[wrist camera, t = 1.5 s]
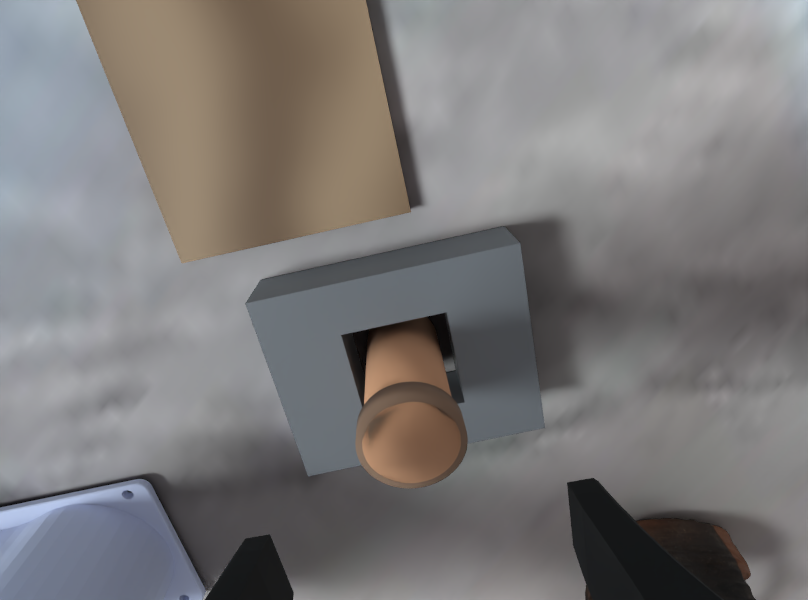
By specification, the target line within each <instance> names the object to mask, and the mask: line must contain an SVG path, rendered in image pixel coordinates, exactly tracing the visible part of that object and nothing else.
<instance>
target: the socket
mask: <svg viewBox="0 0 808 600" xmlns="http://www.w3.org/2000/svg"><path fill="white" fill-rule="evenodd" d="M245 304H246V307H247V309H248V312H249V315H250V318H251V320H252V323H253V326H254V329H255V331H256V334H257V337H258V340H259V342H260V345H261V348H262V351H263V353H264V356H265V359H266V362H267V364H268V367H269V370H270V373H271V375H272V378H273V381H274V384H275V387H276V389H277V392H278V395H279V398H280V400H281V403H282V406H283V409H284V411H285V414H286V417H287V420H288V422H289V425H290V428H291V431H292V433H293V436H294V439H295V442H296V444H297V447H298V450H299V453H300V455H301V458H302V461H303V464H304V466H305V469H306V472H307V475H308V476H312V475H317V474H322V473H327V472H332V471H337V470H342V469H346V468H351V467H356V466H361V463H360V461H359V459H358V456H357V453H356V445H355V442H356V428H357V420H358V416H359V413H360V411H361V409H362V407H363V406H364V396H365V377H364V373H363V370H362V366H361V363H360V359H359V355H358V352H357V348H356V345H355V341H354V338H353V334H352V333H353V332H357V331H362V330H367V329H371V328H376V327H381V326H385V325H390V324H394V323H399V322H404V321H408V320H413V319H418V318H422V317H427V316H432V315H436V314H441V313H445V318H446V323H447V328H448V333H449V338H450V343H451V348H452V353H453V358H454V363H455V368H456V371H453V372H448V373H446V375H447V379H448V384H449V388H450V392H451V396H452V398H453V399H454V400H455V401H456V403H457V404H458V406H459V408H460V410H461V412H462V416H463V419H464V423H465V427H466V431H467V437H468V443H473V442H478V441H483V440H488V439H493V438H498V437H503V436H508V435H512V434H517V433H522V432H527V431H532V430H537V429H542V428H545V425H544V417H543V410H542V402H541V395H540V387H539V380H538V372H537V365H536V357H535V350H534V342H533V335H532V327H531V320H530V312H529V305H528V297H527V290H526V282H525V275H524V267H523V260H522V252H521V245H520V242H519V241H518V240H517V239H516V238H515V237H514V236H513V235H512V234H511V233H510V232H509V231H508V230H507V229H506V228H505V226H503V227H498V228H494V229H489V230H485V231H480V232H475V233H471V234H466V235H462V236H457V237H453V238H448V239H444V240H439V241H435V242H430V243H426V244H421V245H417V246H412V247H408V248H403V249H399V250H394V251H390V252H385V253H381V254H376V255H372V256H367V257H362V258H358V259H353V260H349V261H344V262H340V263H335V264H331V265H326V266H322V267H317V268H313V269H308V270H304V271H299V272H295V273H290V274H286V275H281V276H277V277H272V278H268V279H263V280H260V282H259V283H258V285H257V286H256V288H255V289H254V291H253V292H252V294H251V296H250V297H249V299H248V300H247V302H246V303H245ZM468 443H467V444H468Z"/></svg>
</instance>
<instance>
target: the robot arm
mask: <svg viewBox="0 0 808 600" xmlns="http://www.w3.org/2000/svg"><path fill="white" fill-rule="evenodd" d="M567 485H568V496H569V506H570V517H571V527H572V538H573V546H574V549H575V552H576V555H577V558H578V561H579V564H580V567H581V570H582V573H583V576H584V578H585V581H586V584H587V587H588V590H589V592H590V594H591V597H592V599H593V600H724V599H722V598H721V597H720V596H719V595H717V594H716V593H715V592H714V591H712V590H711V589H710V588H709V587H707V586H706V585H705V584H704V583H703V582H702V581H700V580H699V579H698V578H697V577H696V576H695V575H693V574H692V573H691V572H690V571H689V570H687V569H686V568H685V567H684V566H683V565H682V564H681V563H680V562H678V561H677V560H676V559H675V558H674V557H673V556H672V555H671V554H669V553H668V552H667V551H666V550H665V549H664V548H663V547H662V546H661V545H660V544H659V543H658V542H657V541H656V540H655V539H653V538H652V537H651V536H650V535H649V534H648V533H647V532H646V531H645V530H644V529H643V528H642V527H641V526H640V525H639V524H638V523H637V522H636V521H635V520H634V519H633V518H632V517H631V516H630V515H629V514H628V513H627V512H626V511H625V510H624V509H623V508H622V507H621V506H620V505H619V504H618V503H617V502H616V500H615V499H614V498H613V497H612V496H611V495H610V494H609V493H608V492H607V491H606V490H605V488H604V487H603V486H602V485H601V484H600V483H599V482H598V481H597V480H596V479H594V478H591V479H585V480H579V481H573V482H568V483H567ZM127 490H129V491H131V492H132V493H130V492H128V491H127ZM205 592H206V591H205V588H204V586H203V584H202V582H201V580H200V578H199V576H198V574H197V572H196V570H195V568H194V566H193V564H192V563H191V561H190V559H189V557H188V555H187V553H186V551H185V549H184V547H183V545H182V543H181V541H180V539H179V537H178V535H177V533H176V532H175V530H174V528H173V526H172V524H171V522H170V520H169V518H168V516H167V514H166V512H165V510H164V508H163V506H162V504H161V502H160V501H159V499H158V497H157V495H156V493H155V491H154V489H153V487H152V485H151V484H150V483H149V482H148V481H146V480H144V479H135V480H130V481H125V482H121V483H116V484H111V485H106V486H101V487H97V488H92V489H87V490H82V491H77V492H72V493H68V494H63V495H58V496H53V497H48V498H44V499H39V500H34V501H29V502H24V503H19V504H15V505H10V506H5V507H0V600H203V598H204V595H205ZM293 594H294V593H293V590H292V588H291V585H290V583H289V580H288V578H287V575H286V573H285V571H284V568H283V566H282V563H281V561H280V558H279V556H278V553H277V551H276V548H275V546H274V543H273V541H272V539H271V536H270V535H264V536H258V537H253V538H247V539H245V540H244V542H243V543H242V545H241V546H240V548H239V549H238V550H237V552H236V553H235V555H234V556H233V558H232V559H231V561H230V563H229V564H228V566H227V567H226V569H225V570H224V572H223V573H222V575H221V576H220V578H219V579H218V581H217V582H216V584H215V585H214V587H213V588H212V590H211V591H210V593H209V594H208V596H207V597H206V599H205V600H293Z"/></svg>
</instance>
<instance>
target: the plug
mask: <svg viewBox="0 0 808 600" xmlns="http://www.w3.org/2000/svg"><path fill="white" fill-rule="evenodd" d="M467 443H468V437H467V431H466V427H465V423H464V419H463V416H462V412H461V410H460V408H459V406H458V404H457V403H456V401H455V400H454V399H453V398H452V396H451V392H450V388H449V384H448V379H447V375H446V371H445V367H444V363H443V358H442V354H441V350H440V346H439V341H438V337H437V333H436V330H435V327H434V325H433V324H432V322H431V321H430V320H429V319H428V318H427V317H422V318H418V319H413V320H408V321H404V322H399V323H394V324H390V325H385V326H381V327H376V328H371V329H370V330H369V333H368V339H367V357H366V377H365V396H364V406H363V407H362V409H361V411H360V413H359V416H358V420H357V428H356V442H355V445H356V453H357V456H358V459H359V461H360V463H361V465H362V466H363V467H364V469H365V470H366V471H367V472H368V473H369V474H370V475H371V476H372V477H374V478H375V479H377V480H379V481H380V482H382V483H385V484H387V485H390V486H394V487H399V488H420V487H425V486H429V485H432V484H435V483H437V482H439V481H441V480H443V479H444V478H446V477H447V476H449V475H450V474H451V473H452V472H453V471H454V470H455V469H456V468H457V467H458V466H459V464H460V463H461V462H462V460H463V458H464V456H465V453H466V450H467Z"/></svg>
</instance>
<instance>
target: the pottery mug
mask: <svg viewBox="0 0 808 600" xmlns="http://www.w3.org/2000/svg"><path fill="white" fill-rule="evenodd" d="M636 522H637V523H638V524H639V525H640V526H641V527H642V528H643V529H644V530H645V531H646V532H647V533H648V534H649V535H650V536H651V537H652V538H653V539H655V540H656V541H657V542H658V543H659V544H660V545H661V546H662V547H663V548H664V549H665V550H666V551H667V552H668V553H669V554H671V555H672V556H673V557H674V558H675V559H676V560H677V561H678V562H680V563H681V564H682V565H683V566H684V567H685V568H686V569H687V570H689V571H690V572H691V573H692V574H693V575H695V576H696V577H697V578H698V579H699V580H700V581H702V582H703V583H704V584H705V585H706V586H707V587H709V588H710V589H711V590H712V591H714V592H715V593H716V594H717V595H719V596H720V597H721V598H722V599H724V600H756V599H755V598H754V597H753V595H752V592H751V589H750V587H749V585H748V584H747V583H746V582H745V580H746V579H748V578H749V577H750V576H751V574H750V570H749V567H748V565H747V563H746V561H745V560H744V558H743V557H742V556H741V554H740V553H739V551H738V549H737V548H736V547H735V545H734V544H733V542H732V540H731V538H730V536H729V534H728V533H727V531H726V530H724V529H722V528H721V527H717V526H715V525H711V524H708V523H702V522H697V521H695V520H691V519H690V520H683V519H678V518H674V519H671V518H663V519H648V520H641V521H636ZM585 600H593V599H592V597H591V594H590V592H589V590H588V587H587V585H586V592H585Z"/></svg>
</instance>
